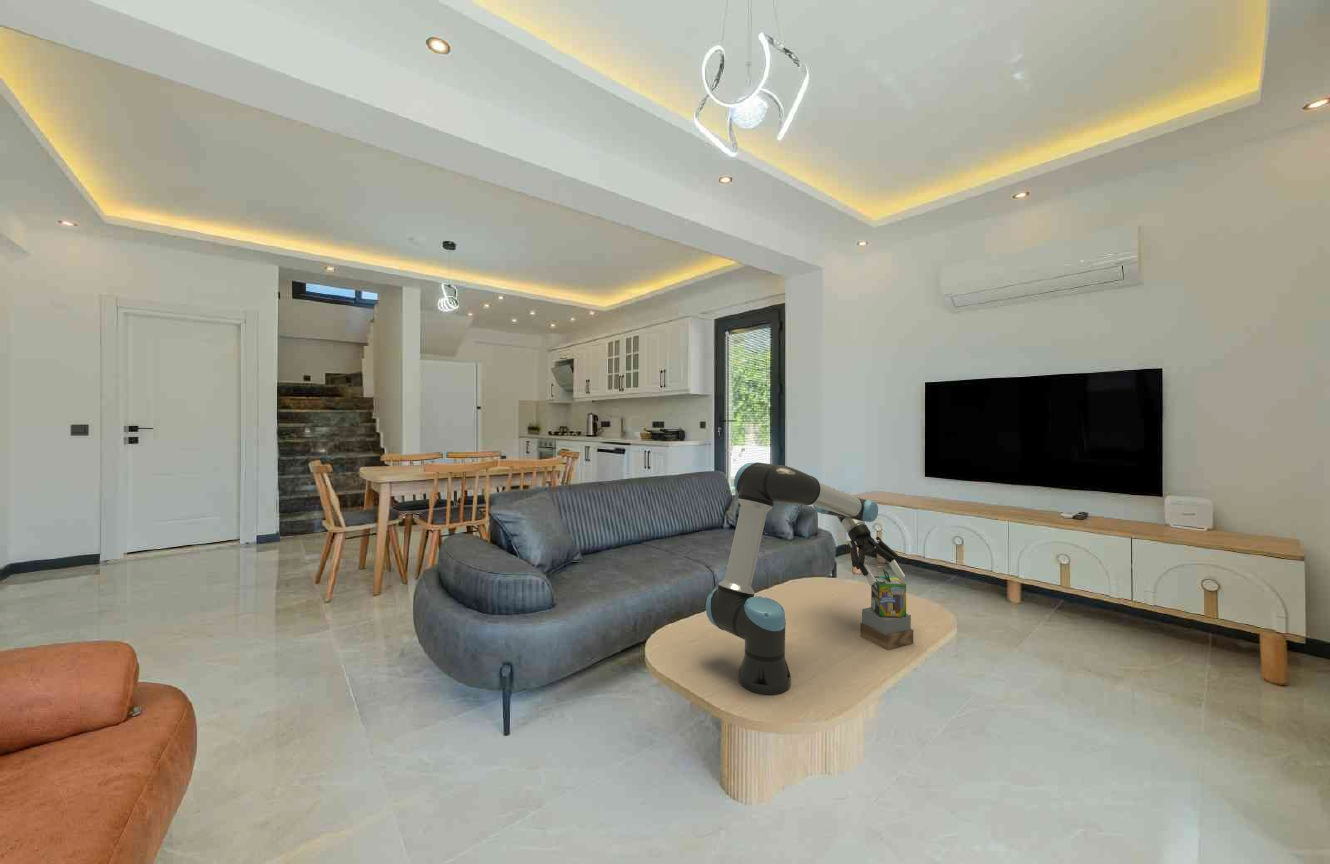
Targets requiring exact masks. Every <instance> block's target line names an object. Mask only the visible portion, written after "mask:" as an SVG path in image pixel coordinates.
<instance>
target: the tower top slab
mask: <svg viewBox="0 0 1330 864" xmlns="http://www.w3.org/2000/svg"><path fill="white" fill-rule="evenodd" d="M861 611H862V612H861V623H863V624H865V625H867V626H869V627H871V628H873V629H875V630H877V631H879V632H881V633H883V634H885V635H889V634H894V633H898V632H903V631H907V630H911V629H912V628H911V625H912V624H911V623H912V619H911V618H912V615H911V614H909V613H907V612H906V617H879V616H878V615H877V613H876V612H875V611H874V610H873V609H872V607H871V606H870V607H864V608H862V609H861Z"/></svg>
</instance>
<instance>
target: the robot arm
mask: <svg viewBox="0 0 1330 864" xmlns="http://www.w3.org/2000/svg"><path fill="white" fill-rule="evenodd" d="M733 487H734V491H735V493H736V494H737V495H738V496H737V502H738V503H739V505H740V508H739V513H738V518H737V522H736V526H735V530H734V535H733V540H732V544H731V549H730V554H729V558H728V561H727V566H726V572H725V575H724V578H723V580H722V581H719V582H718V585H717V588H714V589H712V590H711V593H709V595H707V599H706V603H705V613H706V617H707V618H708V620H709V622H710V623H711V624H712V625H713V626H715V627H717V628H718V629H720V630H721V631H725V632H727V633H729V634H731V635H732V636H733V635H734V636H736V637H738V638H740V639H742V640H744V655H743V658H742V661H741V664H740V667H739V670H738V681H739V684H740V685H741V686H742V687H743V688H745V689H746V690H748V691H750V692H752V693H755V694H760V695H761V694H762V695H778V694H782V693H785V692H786V691H788V690H789V689H790V688H791V685H792V675H791V672H790V669H789V666H788V665H789V664H788V663H787V659H786V653H785V652H786V625H787V622H786V621H787V619H786V612H785V609H784V607H783V605H782V604H781V603H780V602H778V601H777V600H775V599H772V598H769V597H767V596H766V597H763V596H760V595H759V596H758V595H756V596H755V591H754V589H753V588H752V582H753V578H754V574H755V569H756V565H757V561H758V556H759V550H760V547H761V542H762V537H763V532H764V528H765V523H766V519H767V514H768V512H770V510H772V509H773V508H774V505H775V502H776V503H783V504H785V503H787V504H797V505H802V506H806V507H808V506H813V509H814V510H815V512H817V513H820V514H821V515H828V516H835V517H837V518H838V521H839V522H840V524H841V525H842V527H843V529H844V530H845V532H846V533H847V536H848V537H849V539H850V541H849V543H847V546H848V548H849V551H850V557H851V565H852V567H853V568H856V570H860V572H861V574H862V575H863V577H865V578H866V580H867V582H868V584H869V585H870V587H871V585H873V584H874V583H875V582H877V581H876V580H875V578H874V576H875V575H873V573H872V572H871V569H870V568H869V566H868V564H867V563H866V564H865V560H866V559H865V557H866V553H868V552H869V553H871V552H872V553H874V554H876V555H879V556H880V557H882V558H883V559H884V560H886V561H887V562H889V563H888V565H889V567H890V568H891V570H892V571H893V572H894V575H895V577H898V578H899V579H900V580H903V579H904V578H905V577H906V575H905V573H904V571H903V570H902V568H901V566H900V563H898V561H897V559H898V558H899V557H900V556H899V554H898V553H896V551H894V550H893V549H892V548H890V547H889V545H887V544H886V543H885V542H884V541H883V539H881V537H880V536H877V537H874V538H873V537H872V534H871V533H872V531H870V529H869V527H868V526H867V525H866V523H865V522H867V523H872V522H874V521H876V519H877V518H878V514H879V506H878V504H877V502H876V501H874V500H871V499H864V498H860V497H858V496H855V495H852V494H849V493H848V492H846V491H843V490H840V489H836V488H835V487H831V486H829V485H826V484H824V483H821V482H820V481H819V479H817V478H816V477H814V475H813V476H812V475H810V474H808V473H805V472H803V471H801V470H798V469H795V468H794V467H790V466H787V465H784V464H783V465H782V464H781V465H780V464H773V463H772V464H771V463H765V462H747V463H744V464H743V465H741V467H739V468H738V470H737V472H736V474H735V476H734V481H733Z"/></svg>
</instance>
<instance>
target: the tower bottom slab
mask: <svg viewBox="0 0 1330 864" xmlns="http://www.w3.org/2000/svg"><path fill="white" fill-rule="evenodd" d="M859 624H860V627H859V629H860V633H859V637H860V638H863V639H865V640H867V641H869V642H871V643H873V644H875V645H876V646H879V647H881V648H882V649H885V650H887V651H890V650H893V649H897V648H901V647H904V646H908V645H911V644H914V629H912V628H911V630H907V631H903V632H898V633H894V634H889V635H885V634H883V633H881V632H879V631H877V630H875V629H873V628H871V627H869V626H867V625H865V624H863V623H862V622H860V623H859Z"/></svg>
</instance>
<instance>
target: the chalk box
mask: <svg viewBox="0 0 1330 864" xmlns="http://www.w3.org/2000/svg"><path fill="white" fill-rule="evenodd" d="M882 571H883V575H876V576H875V575H873V576H874V578H875V580H876V581H877V582H875V583H874V584H873V585H871V586H870V587H871V588H870V589H871V594H870V596H871V599H870V600H871V601H870V603H871V604H870V607H872V609H873V610H874V611H875V612H876V613H877V615H878V616H879V617H906V613H907V583H905V581H903V579H901V580H900V579H899V578H898V577H897V576H891V575H889V571H888V570H886V569H885V568H882Z"/></svg>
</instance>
